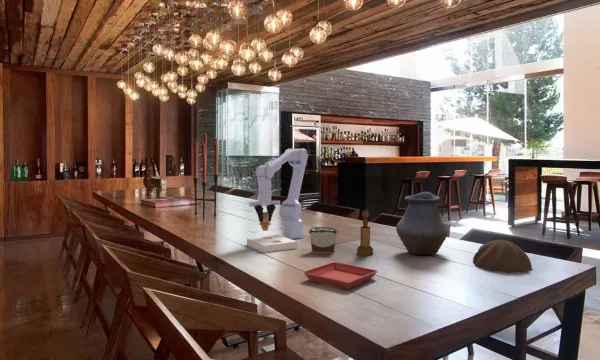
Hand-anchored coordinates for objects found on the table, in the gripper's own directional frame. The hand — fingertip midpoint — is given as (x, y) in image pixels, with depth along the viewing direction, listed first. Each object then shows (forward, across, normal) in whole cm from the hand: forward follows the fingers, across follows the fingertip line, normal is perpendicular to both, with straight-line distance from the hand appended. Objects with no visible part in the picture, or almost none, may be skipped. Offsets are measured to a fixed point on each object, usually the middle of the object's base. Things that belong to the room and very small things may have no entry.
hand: (265, 221), depth 194 cm
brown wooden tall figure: (+11, -28, +37) cm, 48 cm away
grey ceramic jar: (+11, -49, +48) cm, 69 cm away
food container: (+11, -16, +24) cm, 31 cm away
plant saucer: (+11, +2, +61) cm, 62 cm away
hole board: (+10, -1, +5) cm, 12 cm away
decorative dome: (+11, -60, +77) cm, 98 cm away
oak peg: (+4, 0, 0) cm, 4 cm away
